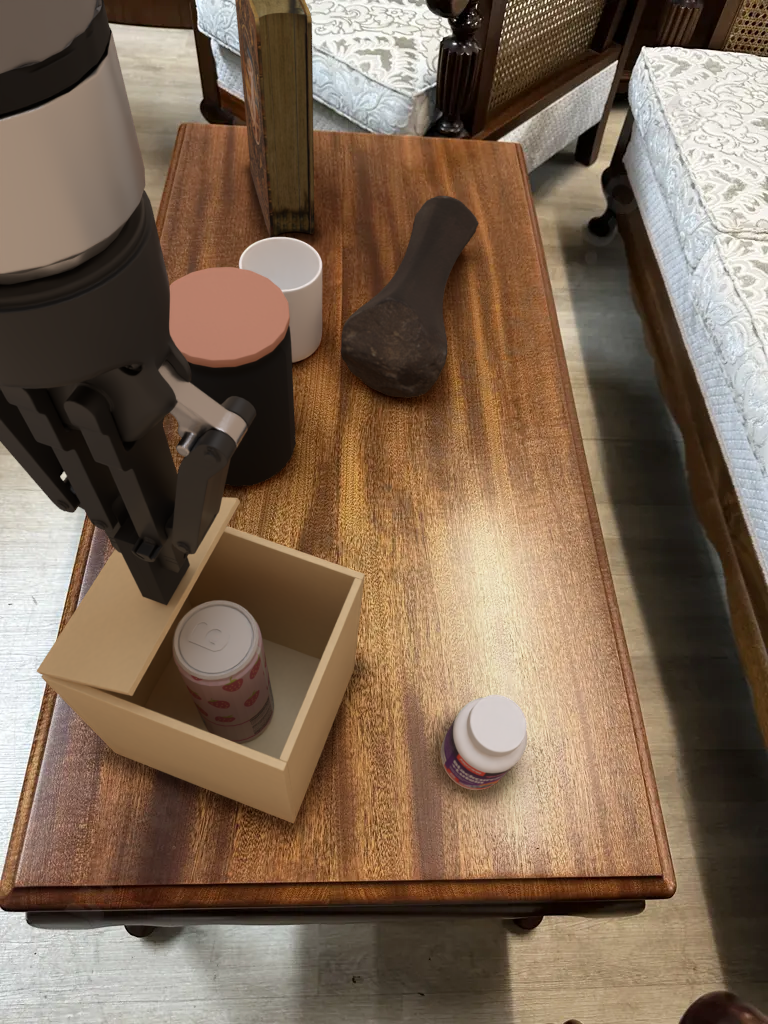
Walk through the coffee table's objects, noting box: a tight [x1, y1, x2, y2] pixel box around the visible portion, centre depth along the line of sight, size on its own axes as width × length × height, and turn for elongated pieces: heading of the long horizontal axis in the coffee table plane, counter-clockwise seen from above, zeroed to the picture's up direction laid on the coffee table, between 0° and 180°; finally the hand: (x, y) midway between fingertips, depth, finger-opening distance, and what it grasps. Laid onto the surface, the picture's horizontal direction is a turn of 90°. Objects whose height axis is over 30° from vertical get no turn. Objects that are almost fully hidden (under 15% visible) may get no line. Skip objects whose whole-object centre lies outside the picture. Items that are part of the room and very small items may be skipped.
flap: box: [36, 496, 241, 696], centre depth 42 cm, size 7×13×1 cm, turn 161°
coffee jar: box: [169, 266, 297, 487], centre depth 65 cm, size 11×11×18 cm
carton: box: [41, 525, 366, 824], centre depth 51 cm, size 15×13×18 cm
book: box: [234, 0, 315, 238], centre depth 83 cm, size 16×6×25 cm, turn 15°
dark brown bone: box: [340, 195, 480, 399], centre depth 81 cm, size 11×10×28 cm
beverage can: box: [173, 600, 274, 744], centre depth 51 cm, size 6×6×15 cm
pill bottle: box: [440, 694, 528, 791], centre depth 54 cm, size 5×5×10 cm
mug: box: [238, 236, 323, 363], centre depth 76 cm, size 12×8×10 cm
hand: (166, 580), depth 40 cm, fingers closed
